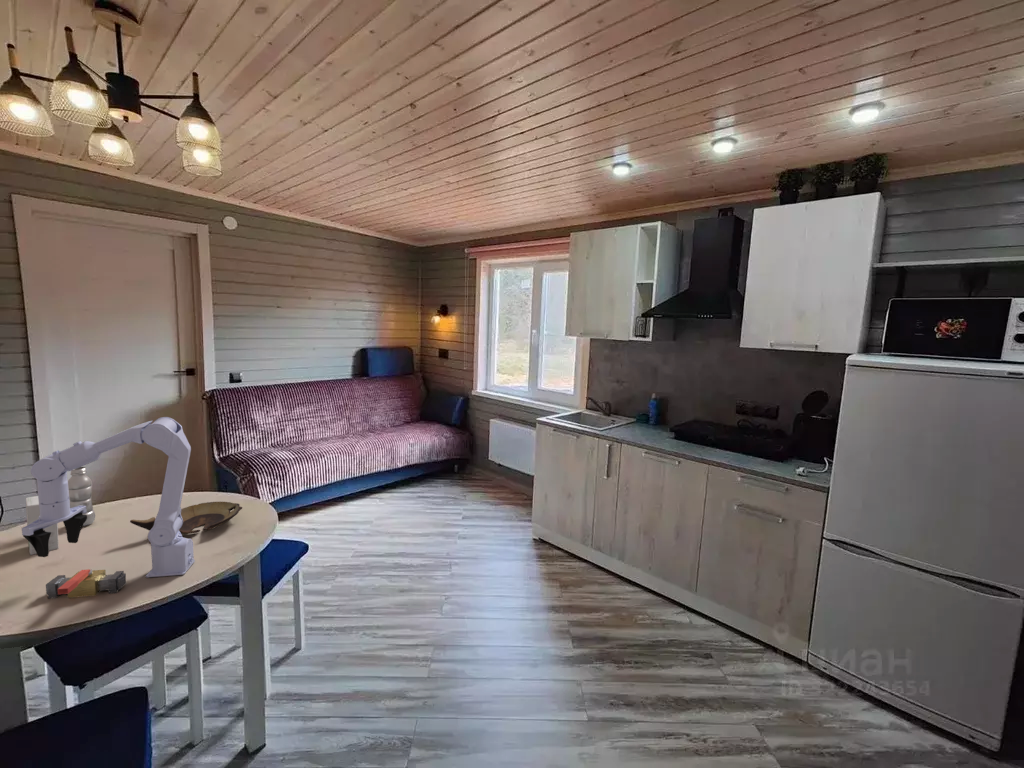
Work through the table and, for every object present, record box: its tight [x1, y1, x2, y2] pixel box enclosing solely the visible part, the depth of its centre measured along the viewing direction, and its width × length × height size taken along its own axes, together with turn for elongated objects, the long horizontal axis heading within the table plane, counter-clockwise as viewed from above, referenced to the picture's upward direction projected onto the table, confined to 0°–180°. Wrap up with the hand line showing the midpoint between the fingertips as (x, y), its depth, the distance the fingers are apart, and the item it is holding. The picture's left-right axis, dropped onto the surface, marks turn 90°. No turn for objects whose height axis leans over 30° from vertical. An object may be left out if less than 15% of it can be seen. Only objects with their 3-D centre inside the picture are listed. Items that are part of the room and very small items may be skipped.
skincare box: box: [25, 495, 59, 556], centre depth 142 cm, size 8×7×16 cm
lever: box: [58, 568, 93, 595], centre depth 118 cm, size 10×2×2 cm, turn 15°
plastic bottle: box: [67, 466, 96, 527], centre depth 157 cm, size 6×7×20 cm
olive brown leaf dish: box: [129, 501, 243, 535], centre depth 160 cm, size 22×30×8 cm
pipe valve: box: [45, 569, 127, 599], centre depth 122 cm, size 16×5×5 cm, turn 105°
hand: (58, 549), depth 124 cm, fingers open, 7 cm apart
